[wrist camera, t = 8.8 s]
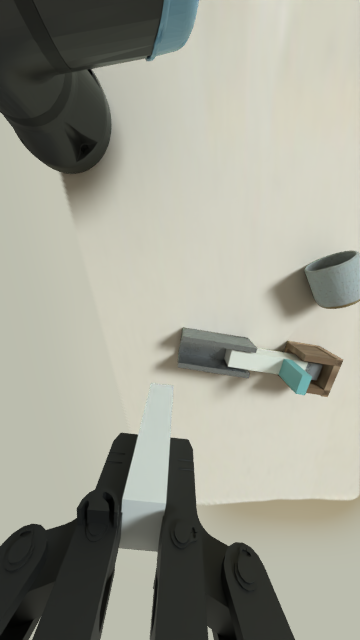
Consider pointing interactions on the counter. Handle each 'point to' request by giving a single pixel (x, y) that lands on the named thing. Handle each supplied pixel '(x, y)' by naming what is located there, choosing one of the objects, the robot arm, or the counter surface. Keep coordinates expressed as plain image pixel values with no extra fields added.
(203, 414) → the counter surface
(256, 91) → the counter surface
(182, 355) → the channel
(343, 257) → the ceramic mug
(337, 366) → the socket
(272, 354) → the rod
